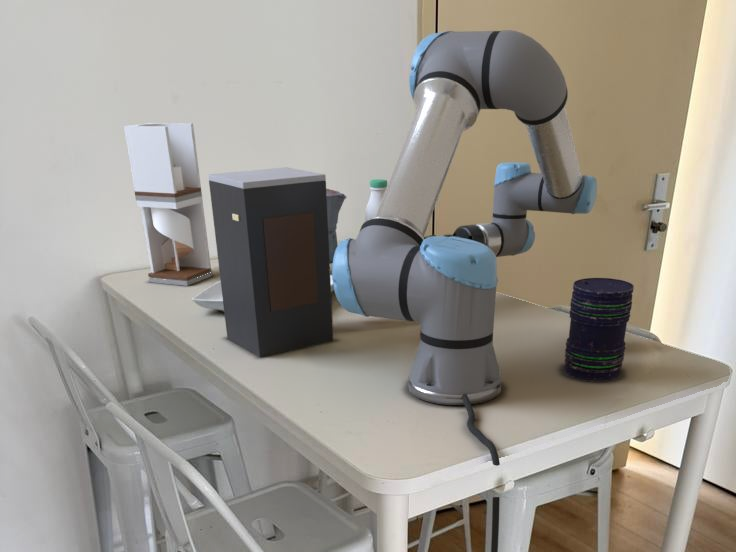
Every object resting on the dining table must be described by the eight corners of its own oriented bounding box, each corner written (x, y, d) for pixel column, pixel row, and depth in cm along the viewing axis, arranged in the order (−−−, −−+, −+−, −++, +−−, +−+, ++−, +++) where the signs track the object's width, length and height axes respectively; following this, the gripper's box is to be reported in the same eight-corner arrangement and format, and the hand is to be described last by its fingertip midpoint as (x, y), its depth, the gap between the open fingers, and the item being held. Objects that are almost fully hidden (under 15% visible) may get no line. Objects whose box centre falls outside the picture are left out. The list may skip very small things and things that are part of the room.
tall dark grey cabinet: (297, 324, 160) (286, 167, 145) (333, 341, 150) (326, 174, 135) (226, 338, 152) (206, 174, 137) (259, 357, 142) (242, 182, 127)
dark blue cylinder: (628, 368, 135) (641, 281, 128) (612, 385, 128) (625, 295, 120) (573, 359, 140) (583, 275, 132) (554, 375, 132) (564, 287, 125)
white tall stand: (149, 282, 193) (123, 126, 175) (175, 272, 201) (153, 122, 183) (187, 285, 189) (165, 126, 171) (211, 276, 197) (193, 123, 180)
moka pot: (344, 264, 207) (341, 184, 197) (289, 262, 210) (284, 183, 199) (353, 256, 215) (350, 179, 205) (300, 255, 218) (295, 178, 207)
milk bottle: (397, 259, 211) (397, 180, 201) (371, 262, 209) (370, 182, 199) (387, 253, 218) (386, 177, 207) (361, 256, 215) (359, 179, 205)
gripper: (498, 266, 166) (411, 279, 154) (450, 253, 177) (366, 265, 165) (501, 229, 162) (413, 240, 150) (452, 219, 173) (366, 228, 161)
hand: (388, 253), depth 158 cm, fingers closed on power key, 3 cm apart
